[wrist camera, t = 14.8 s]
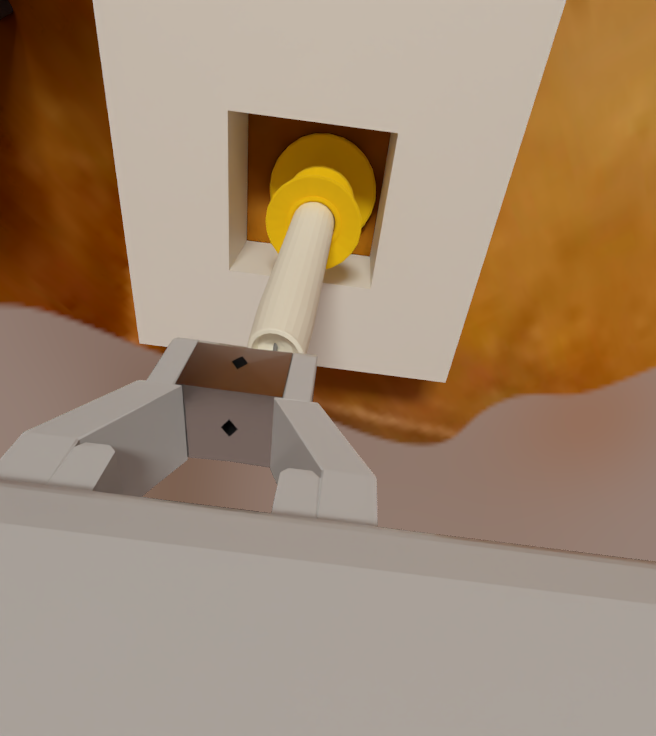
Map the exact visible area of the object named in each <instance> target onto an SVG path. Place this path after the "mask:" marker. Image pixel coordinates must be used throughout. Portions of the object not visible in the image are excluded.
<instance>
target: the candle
mask: <svg viewBox="0 0 656 736" xmlns="http://www.w3.org/2000/svg"><path fill="white" fill-rule="evenodd" d="M270 198H271V201H270V203H269V205H268V208H267V214H266V229H267V234H268V236H269V239H270V242H271V244H272V245H273V247H274V248H275V250H276V251H277V253H278V257H277V259H276V262H275V264H274V267H273V270H272V272H271V275H270V277H269V280H268V282H267V285H266V288H265V290H264V293H263V295H262V298H261V300H260V303H259V306H258V309H257V312H256V315H255V319H254V322H253V326H252V329H251V333H250V336H249V340H248V345H247V347H248V348H252V349H262V350H271V351H281V352H290V353H293V354H294V353H303V354H307V351H308V347H309V344H310V340H311V337H312V333H313V328H314V323H315V318H316V314H317V309H318V304H319V299H320V294H321V289H322V284H323V279H324V274H325V269H329V268H332V267H334V266H336V265H338V264H340V263H342V262H343V261H344V260H345V259H346V258H347V257H348V256H350V255H351V253H352V252H353V250H354V249H355V247H356V245H357V244H358V240H359V237H360V234H361V228H362V227H363V226H364V225H365V224H366V222H367V220H368V219H369V217H370V215H371V214H372V210H373V207H374V204H375V200H376V181H375V177H374V172H373V169H372V167H371V165H370V163H369V161H368V159H367V157H366V156H365V154H364V153H363V152H362V151H361V150H360V149H359V148H358V147H357V146H356V145H355V144H353V143H352V142H350V141H349V140H347V139H345V138H344V137H341V136H337V135H334V134H330V133H314V134H311V135H307V136H304V137H301V138H299V139H298V140H296V141H295V142H293V143H292V144H290V145H289V146H288V147H287V148H286V149H285V150H284V152H283V153H282V154H281V155H280V156H279V158H278V159H277V162H276V164H275V166H274V168H273V170H272V174H271V180H270Z"/></svg>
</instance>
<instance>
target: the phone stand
mask: <svg viewBox="0 0 656 736" xmlns="http://www.w3.org/2000/svg"><path fill="white" fill-rule="evenodd" d="M12 12H13V9H12V6H11V4H10V3H9V1H8V0H0V19H2V18H3V17H5V16H7V15H9V14H11V13H12Z"/></svg>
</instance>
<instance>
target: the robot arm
mask: <svg viewBox="0 0 656 736" xmlns="http://www.w3.org/2000/svg"><path fill="white" fill-rule="evenodd" d="M317 361H318V356H317V355H313V354H303V353H294V354H293V353H290V352H281V351H271V350H262V349H252V348H248V347H243V346H236V345H229V344H222V343H216V342H209V341H202V340H201V341H200V340H196V339H188V338H180V337H177V338H174V339H173V340H172V341H171V343H170V344H169V346H168V347H167V349H166V350H165V352H164V354H163V355H162V357H161V358H160V360H159V361H158V363H157V364H156V366H155V367H154V369H153V371H152V372H151V374H150V375H149V377H148V379H147V380H146V381H144V380H137V381H135V382H133V383H131V384H129V385H126V386H124V387H122V388H120V389H118V390H115V391H114V392H111V393H109V394H107V395H104V396H102V397H100V398H98V399H96V400H93V401H91V402H89V403H87V404H85V405H82V406H80V407H78V408H76V409H74V410H72V411H69V412H67V413H65V414H63V415H60V416H58V417H56V418H54V419H52V420H50V421H47V422H45V423H43V424H41V425H38V426H36V427H34V428H32V429H30V430H27V431H25V432H23V433H22V435H21V436H20V437H19V438H18V439H17V441H16V442H15V443H14V444H13V445H12V446H11V447H10V448H9V449H8V451H7V452H6V453H5V454H4V455H3V456H2V458H1V459H0V736H656V562H655V561H648V560H640V559H632V558H624V557H616V556H608V555H600V554H592V553H583V552H576V551H568V550H560V549H552V548H544V547H536V546H529V545H521V544H513V543H505V542H497V541H489V540H481V539H473V538H465V537H456V536H448V535H440V534H431V533H423V532H415V531H407V530H400V529H392V528H384V527H378V520H377V481H376V476H375V475H374V474H373V473H372V471H371V470H370V469H369V468H368V466H367V465H366V464H365V462H364V461H363V460H362V459H361V457H360V456H359V455H358V453H357V452H356V451H355V450H354V448H353V447H352V446H351V444H349V442H348V441H347V439H346V438H345V437H344V436H343V434H342V433H341V432H340V430H339V429H338V428H337V427H336V425H335V424H334V423H333V421H332V420H331V419H330V418H329V416H328V415H327V414H326V412H325V411H324V410H323V409H322V407H321V406H320V405H319V404H318V403H315V402H313V394H314V386H315V377H316V369H317ZM187 457H191V458H201V459H211V460H221V461H230V462H237V463H243V464H250V465H256V466H263V467H269V468H270V470H271V472H272V475H273V477H274V479H275V481H276V483H277V489H276V494H275V498H274V503H273V507H272V512H271V513H266V512H258V511H250V510H242V509H234V508H226V507H218V506H210V505H202V504H194V503H185V502H178V501H170V500H162V499H154V498H146V497H142V496H143V495H144V494H146V493H147V492H148V491H149V490H151V489H152V488H153V487H154V486H155V485H157V484H158V483H159V482H160V481H162V480H163V479H164V478H165V477H167V476H168V475H169V474H170V473H172V472H173V471H174V470H175V469H177V468H178V467H179V466H180V465H181V464H183V463H184V462H185V461H186V460H187V459H188V458H187Z"/></svg>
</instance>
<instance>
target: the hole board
mask: <svg viewBox="0 0 656 736" xmlns="http://www.w3.org/2000/svg"><path fill="white" fill-rule="evenodd" d="M565 2H566V0H93V7H94V14H95V21H96V29H97V36H98V43H99V51H100V58H101V65H102V73H103V80H104V87H105V94H106V102H107V109H108V116H109V124H110V131H111V138H112V146H113V153H114V160H115V168H116V175H117V182H118V189H119V197H120V204H121V211H122V219H123V226H124V233H125V241H126V248H127V255H128V262H129V270H130V277H131V284H132V292H133V299H134V306H135V314H136V321H137V328H138V336H139V343H141V344H149V345H157V346H165V347H168V346H169V344H170V343H171V341H172V340H173V339H174V338H177V337H180V338H188V339H196V340H200V341H201V340H202V341H209V342H216V343H222V344H229V345H236V346H243V347H247V345H248V340H249V336H250V333H251V329H252V326H253V322H254V319H255V315H256V312H257V309H258V306H259V303H260V300H261V298H262V295H263V293H264V290H265V288H266V285H267V282H268V280H269V277H270V275H271V272H272V270H273V267H274V264H275V262H276V259H277V257H278V253H277V251H276V250H275V248H274V247H273V245H272V244H270V243H262V242H255V241H247V187H248V114H249V113H251V114H258V115H266V116H273V117H281V118H288V119H296V120H303V121H310V122H318V123H325V124H333V125H340V126H348V127H355V128H363V129H370V130H378V131H385V132H391V135H390V141H389V147H388V153H387V159H386V165H385V171H384V177H383V182H382V188H381V194H380V200H379V206H378V212H377V218H376V224H375V230H374V235H373V241H372V247H371V253H370V257H369V256H361V255H354V254H351V255H350V256H348V257H347V258H346V259H345V260H344V261H343V262H342V263H340V264H338V265H336V266H334V267H332V268H329V269H325V274H324V279H323V284H322V289H321V294H320V299H319V304H318V309H317V314H316V318H315V323H314V328H313V333H312V337H311V340H310V344H309V347H308V351H307V354H313V355H317V356H318V361H317V366H320V367H328V368H336V369H343V370H351V371H359V372H367V373H374V374H382V375H390V376H398V377H406V378H413V379H421V380H429V381H437V382H444V383H445V382H446V379H447V376H448V373H449V369H450V366H451V363H452V360H453V357H454V354H455V350H456V347H457V344H458V341H459V338H460V335H461V331H462V328H463V325H464V322H465V319H466V316H467V312H468V309H469V306H470V303H471V300H472V297H473V294H474V290H475V287H476V284H477V281H478V278H479V275H480V271H481V268H482V265H483V262H484V259H485V256H486V252H487V249H488V246H489V243H490V240H491V237H492V233H493V230H494V227H495V224H496V221H497V218H498V214H499V211H500V208H501V205H502V202H503V199H504V195H505V192H506V189H507V186H508V183H509V180H510V176H511V173H512V170H513V167H514V164H515V161H516V157H517V154H518V151H519V148H520V145H521V142H522V138H523V135H524V132H525V129H526V126H527V123H528V119H529V116H530V113H531V110H532V107H533V104H534V100H535V97H536V94H537V91H538V88H539V85H540V81H541V78H542V75H543V72H544V69H545V66H546V62H547V59H548V56H549V53H550V50H551V47H552V43H553V40H554V37H555V34H556V31H557V28H558V24H559V21H560V18H561V15H562V12H563V9H564V5H565Z"/></svg>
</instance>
